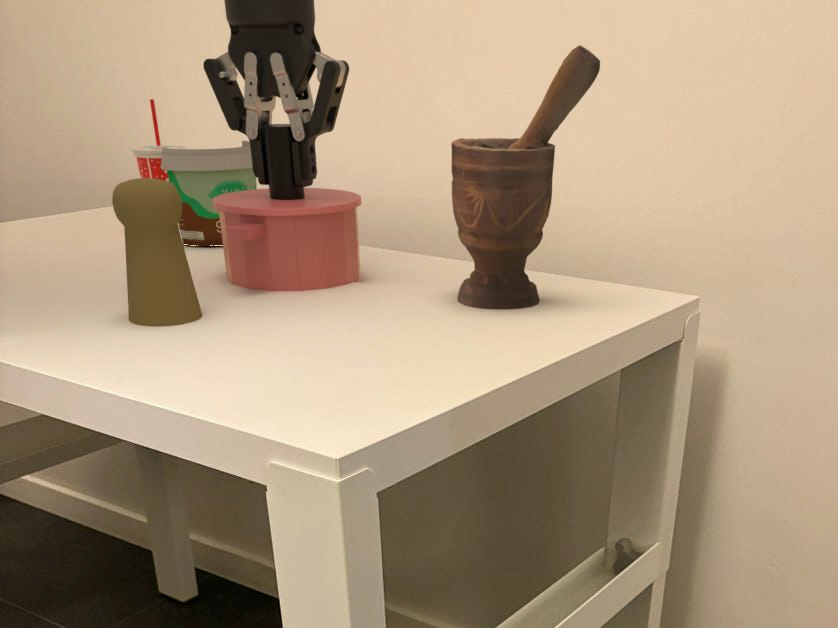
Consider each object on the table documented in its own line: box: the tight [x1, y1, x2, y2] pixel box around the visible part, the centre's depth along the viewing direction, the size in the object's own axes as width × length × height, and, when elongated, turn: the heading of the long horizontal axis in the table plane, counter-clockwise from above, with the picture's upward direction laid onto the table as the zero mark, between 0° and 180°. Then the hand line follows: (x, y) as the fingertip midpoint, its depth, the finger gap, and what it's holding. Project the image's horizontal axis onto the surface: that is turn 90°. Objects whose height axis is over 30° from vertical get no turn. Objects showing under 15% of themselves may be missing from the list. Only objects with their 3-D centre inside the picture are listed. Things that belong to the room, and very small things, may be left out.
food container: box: [161, 140, 258, 246], centre depth 111 cm, size 12×6×10 cm, turn 143°
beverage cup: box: [132, 98, 187, 230], centre depth 117 cm, size 6×6×14 cm
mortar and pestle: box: [451, 44, 601, 311], centre depth 83 cm, size 12×9×20 cm
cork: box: [111, 177, 203, 328], centre depth 79 cm, size 6×6×11 cm
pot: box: [219, 207, 361, 292], centre depth 94 cm, size 13×18×7 cm
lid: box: [212, 123, 362, 216], centre depth 90 cm, size 14×14×7 cm
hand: (286, 183), depth 91 cm, fingers closed on lid, 3 cm apart
